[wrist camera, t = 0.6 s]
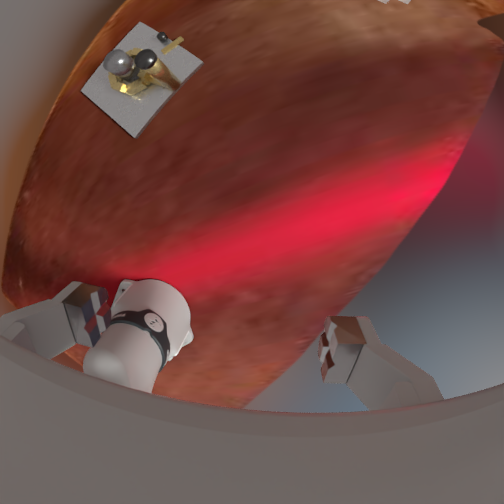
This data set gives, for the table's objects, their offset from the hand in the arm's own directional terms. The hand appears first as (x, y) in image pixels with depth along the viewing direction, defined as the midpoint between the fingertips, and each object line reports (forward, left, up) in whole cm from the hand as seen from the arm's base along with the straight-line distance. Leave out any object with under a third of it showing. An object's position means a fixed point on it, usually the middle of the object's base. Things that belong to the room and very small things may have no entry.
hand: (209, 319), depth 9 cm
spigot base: (+4, +32, -39) cm, 50 cm away
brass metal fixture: (+5, +29, -38) cm, 48 cm away
